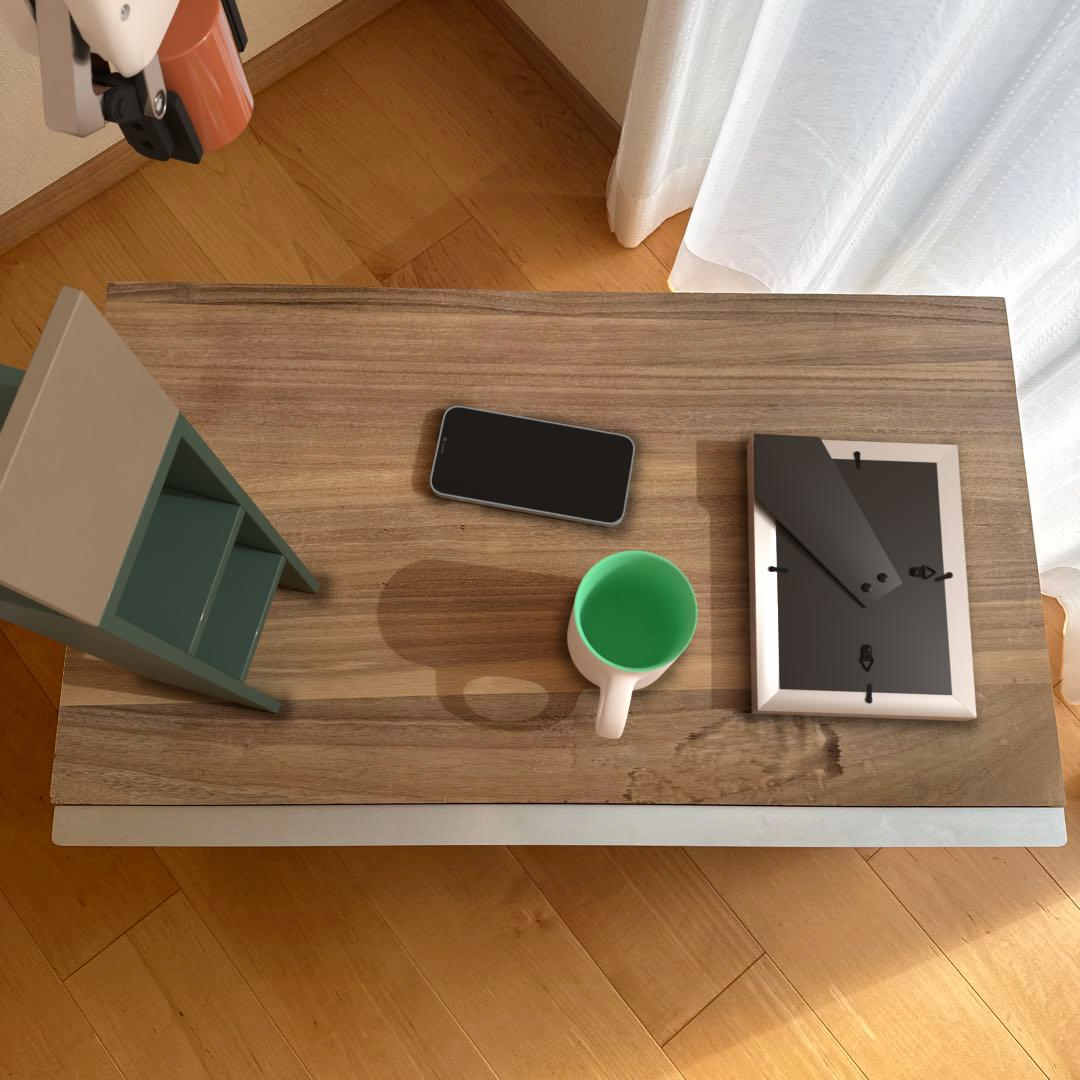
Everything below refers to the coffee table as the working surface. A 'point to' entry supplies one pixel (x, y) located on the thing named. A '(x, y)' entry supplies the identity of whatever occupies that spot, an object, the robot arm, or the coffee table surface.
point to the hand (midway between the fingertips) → (190, 92)
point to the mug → (629, 628)
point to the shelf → (128, 518)
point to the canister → (206, 72)
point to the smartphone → (533, 466)
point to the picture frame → (858, 580)
